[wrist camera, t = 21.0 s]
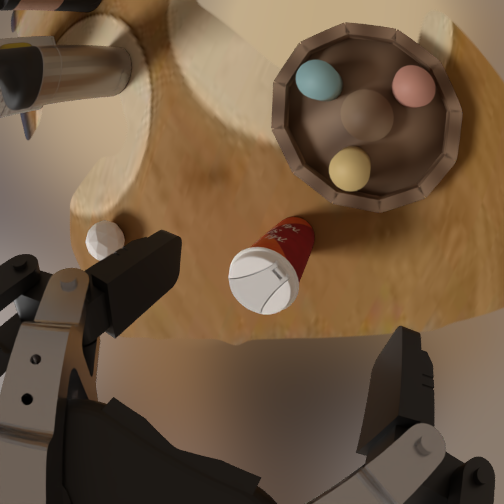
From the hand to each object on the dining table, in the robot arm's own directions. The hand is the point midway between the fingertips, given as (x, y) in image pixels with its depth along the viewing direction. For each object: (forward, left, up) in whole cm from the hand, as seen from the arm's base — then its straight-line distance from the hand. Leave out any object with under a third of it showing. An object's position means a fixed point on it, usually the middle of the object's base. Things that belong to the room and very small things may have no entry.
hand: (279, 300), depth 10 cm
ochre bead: (0, 0, -29) cm, 29 cm away
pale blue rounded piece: (-8, +6, -29) cm, 31 cm away
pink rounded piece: (0, +12, -29) cm, 31 cm away
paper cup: (0, -13, -30) cm, 33 cm away
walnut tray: (-2, +6, -30) cm, 31 cm away
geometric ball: (-27, -36, -30) cm, 54 cm away
